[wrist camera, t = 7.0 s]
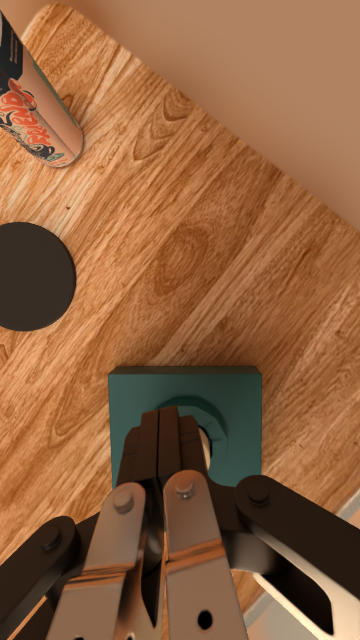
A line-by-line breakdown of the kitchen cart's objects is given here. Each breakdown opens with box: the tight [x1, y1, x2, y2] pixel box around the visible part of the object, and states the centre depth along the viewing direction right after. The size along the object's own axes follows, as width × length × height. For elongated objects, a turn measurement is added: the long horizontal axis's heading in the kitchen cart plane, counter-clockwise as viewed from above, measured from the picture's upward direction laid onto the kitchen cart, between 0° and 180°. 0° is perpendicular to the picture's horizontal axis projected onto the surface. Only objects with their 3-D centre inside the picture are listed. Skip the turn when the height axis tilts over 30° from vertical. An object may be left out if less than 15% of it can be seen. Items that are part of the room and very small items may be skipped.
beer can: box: [0, 10, 83, 167], centre depth 20 cm, size 5×5×12 cm
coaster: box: [0, 222, 76, 331], centre depth 26 cm, size 10×10×1 cm
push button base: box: [108, 366, 262, 490], centre depth 25 cm, size 13×11×4 cm
